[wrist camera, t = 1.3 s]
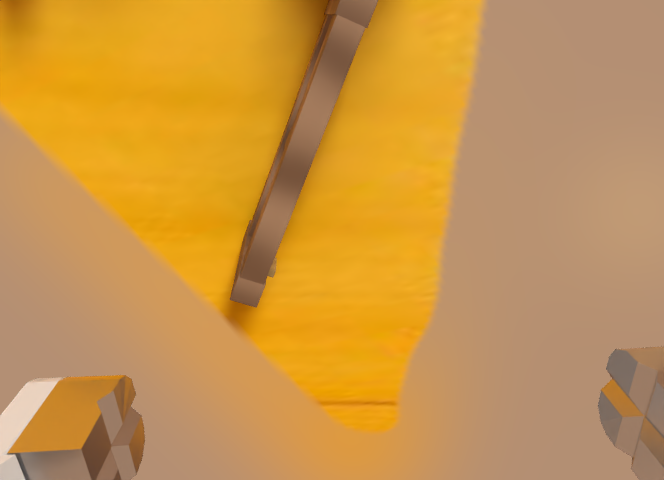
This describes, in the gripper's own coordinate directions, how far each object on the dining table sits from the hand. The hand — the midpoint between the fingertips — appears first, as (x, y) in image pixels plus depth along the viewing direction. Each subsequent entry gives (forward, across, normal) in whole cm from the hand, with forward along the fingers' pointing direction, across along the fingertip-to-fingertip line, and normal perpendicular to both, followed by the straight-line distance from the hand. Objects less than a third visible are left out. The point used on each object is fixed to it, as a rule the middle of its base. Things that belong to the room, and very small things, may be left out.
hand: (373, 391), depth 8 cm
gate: (+30, +2, +1) cm, 31 cm away
